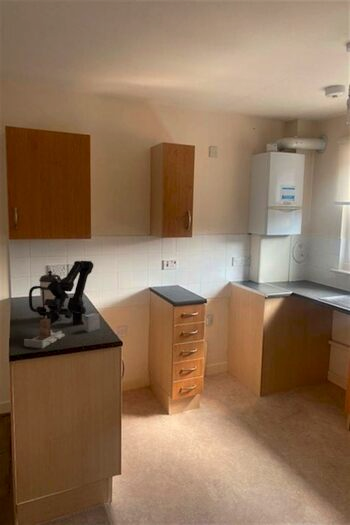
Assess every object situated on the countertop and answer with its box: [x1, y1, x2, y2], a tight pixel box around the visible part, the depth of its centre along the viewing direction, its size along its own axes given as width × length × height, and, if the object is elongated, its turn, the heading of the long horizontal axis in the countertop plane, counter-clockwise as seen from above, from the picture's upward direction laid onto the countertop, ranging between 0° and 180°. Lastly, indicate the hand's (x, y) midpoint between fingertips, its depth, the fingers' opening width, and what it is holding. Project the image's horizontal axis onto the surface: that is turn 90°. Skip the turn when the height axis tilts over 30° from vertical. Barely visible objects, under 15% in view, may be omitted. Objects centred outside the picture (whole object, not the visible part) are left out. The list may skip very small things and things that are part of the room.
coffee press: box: [28, 270, 62, 321], centre depth 231 cm, size 17×16×30 cm
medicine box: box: [83, 312, 101, 333], centre depth 212 cm, size 8×4×9 cm, turn 141°
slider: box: [38, 318, 52, 340], centre depth 193 cm, size 4×4×10 cm
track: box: [23, 329, 65, 349], centre depth 194 cm, size 20×10×4 cm, turn 165°
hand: (47, 326), depth 195 cm, fingers closed
